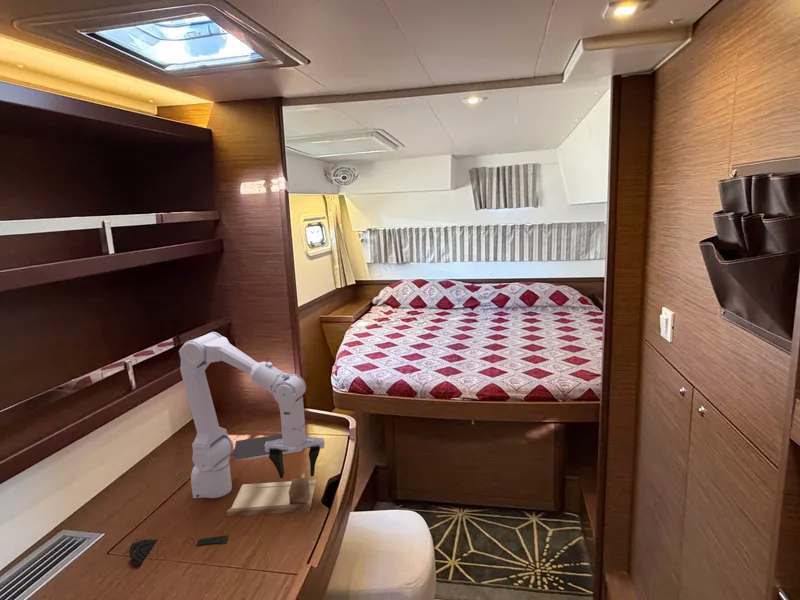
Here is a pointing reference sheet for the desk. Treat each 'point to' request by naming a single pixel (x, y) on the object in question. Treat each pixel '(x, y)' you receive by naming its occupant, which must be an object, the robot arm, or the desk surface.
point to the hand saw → (179, 475)
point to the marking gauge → (299, 490)
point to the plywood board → (267, 499)
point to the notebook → (255, 448)
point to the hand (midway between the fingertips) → (297, 475)
